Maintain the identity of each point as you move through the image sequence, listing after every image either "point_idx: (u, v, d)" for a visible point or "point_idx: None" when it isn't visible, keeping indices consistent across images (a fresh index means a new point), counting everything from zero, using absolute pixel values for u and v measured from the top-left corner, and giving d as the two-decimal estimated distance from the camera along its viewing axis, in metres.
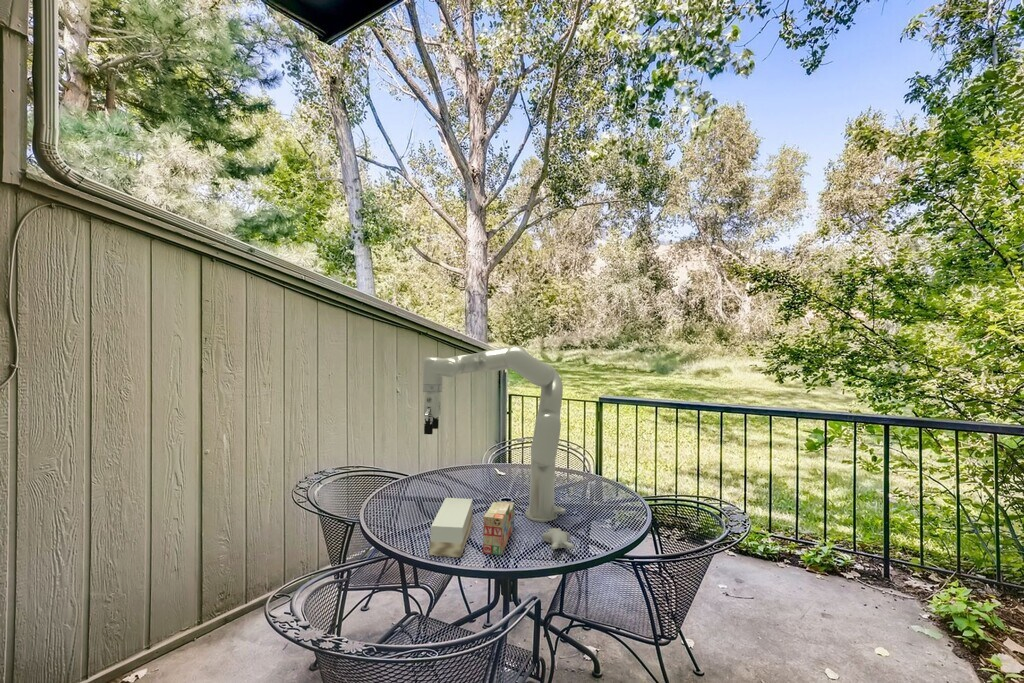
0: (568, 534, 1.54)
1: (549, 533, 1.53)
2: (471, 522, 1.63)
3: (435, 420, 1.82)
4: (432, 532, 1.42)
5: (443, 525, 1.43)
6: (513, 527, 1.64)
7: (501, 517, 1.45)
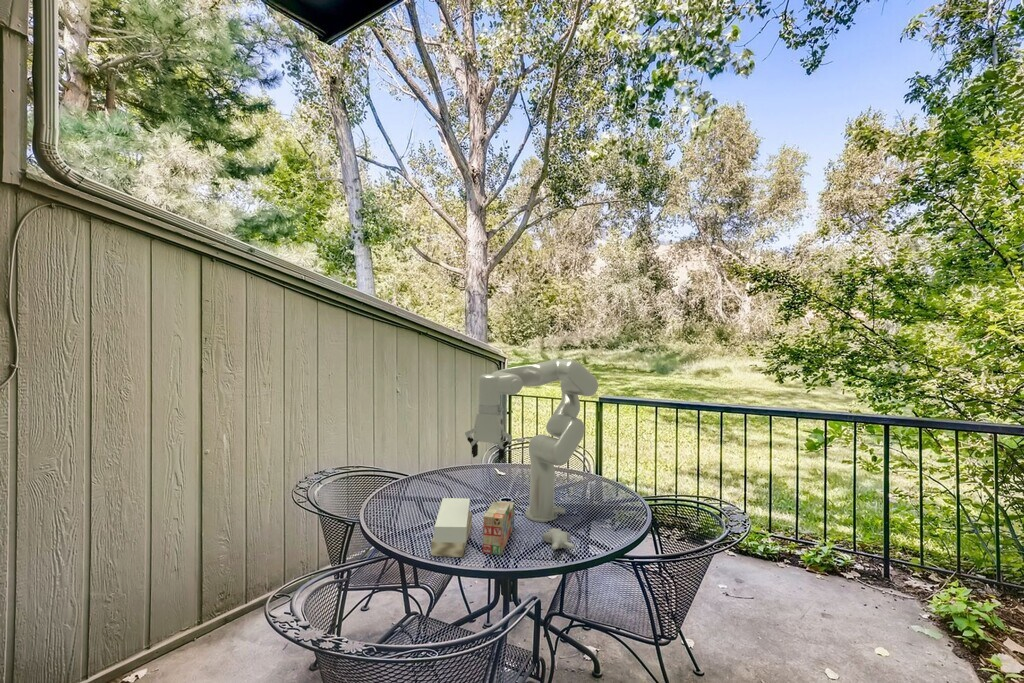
0: (568, 534, 1.54)
1: (549, 533, 1.53)
2: None
3: (476, 446, 1.60)
4: (435, 532, 1.42)
5: (446, 525, 1.43)
6: (513, 527, 1.64)
7: (501, 517, 1.45)
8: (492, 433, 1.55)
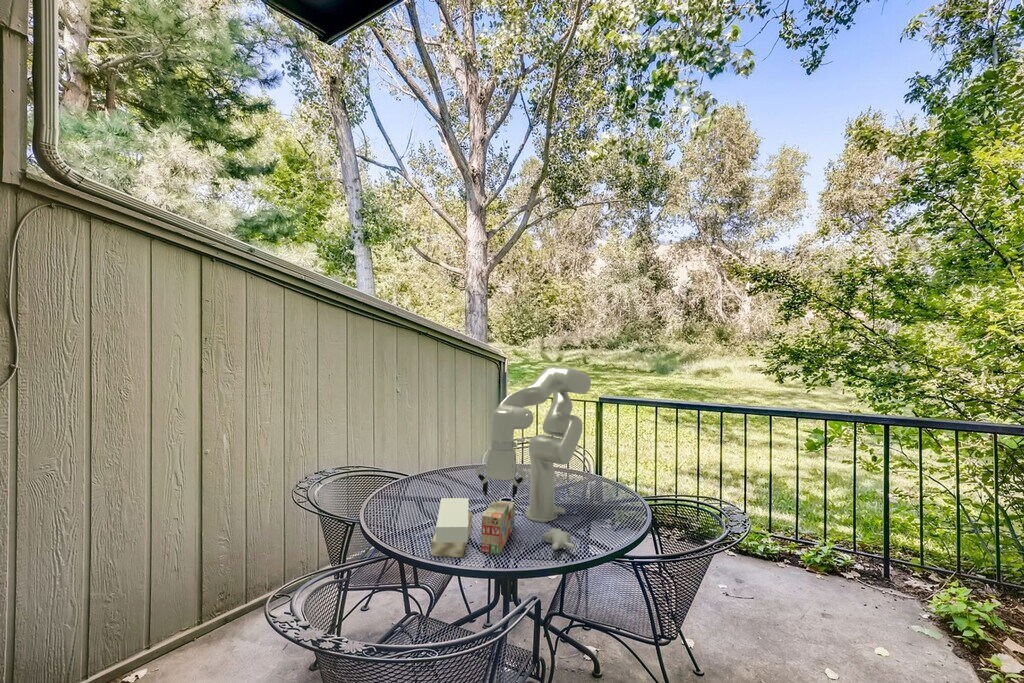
0: (569, 534, 1.54)
1: (550, 533, 1.53)
2: None
3: (487, 483, 1.55)
4: (437, 533, 1.41)
5: (448, 525, 1.43)
6: (513, 527, 1.64)
7: (499, 516, 1.45)
8: (507, 470, 1.51)
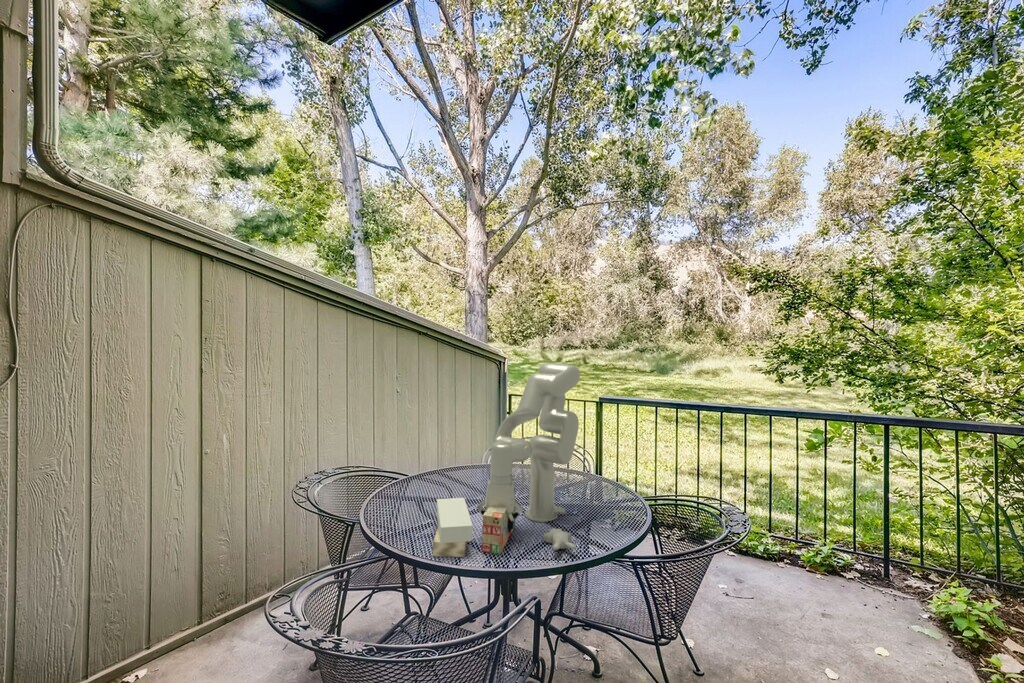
0: (569, 534, 1.54)
1: (550, 533, 1.53)
2: None
3: None
4: (442, 533, 1.41)
5: (452, 525, 1.43)
6: (514, 526, 1.64)
7: (500, 516, 1.45)
8: (506, 504, 1.52)
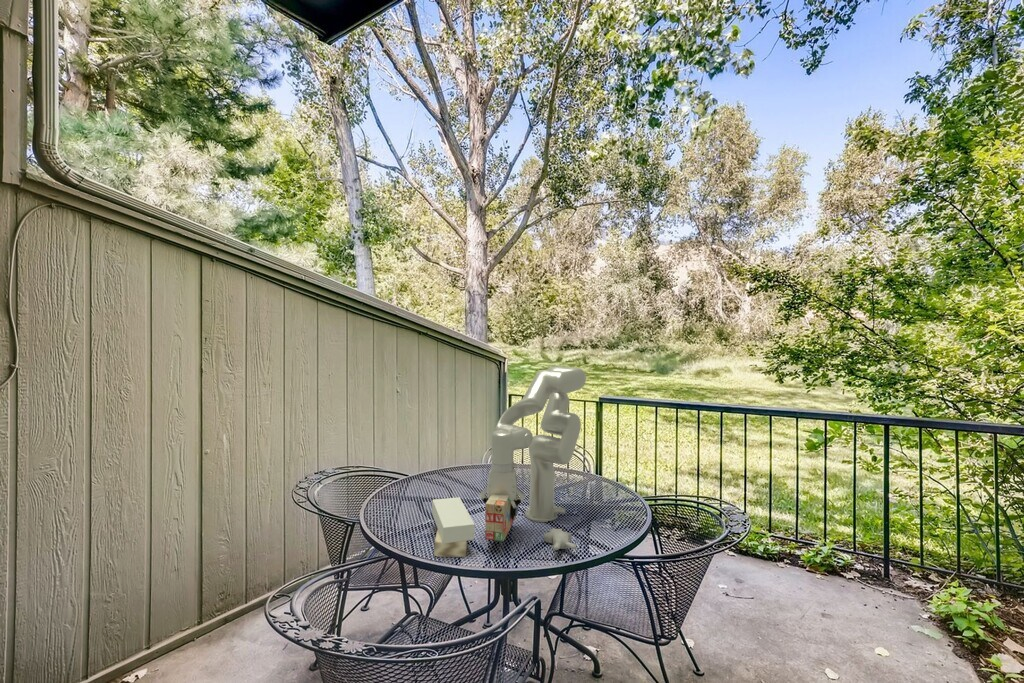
0: (569, 534, 1.54)
1: (550, 533, 1.53)
2: None
3: None
4: (444, 533, 1.41)
5: (454, 525, 1.43)
6: (517, 513, 1.65)
7: (502, 504, 1.46)
8: (508, 491, 1.52)
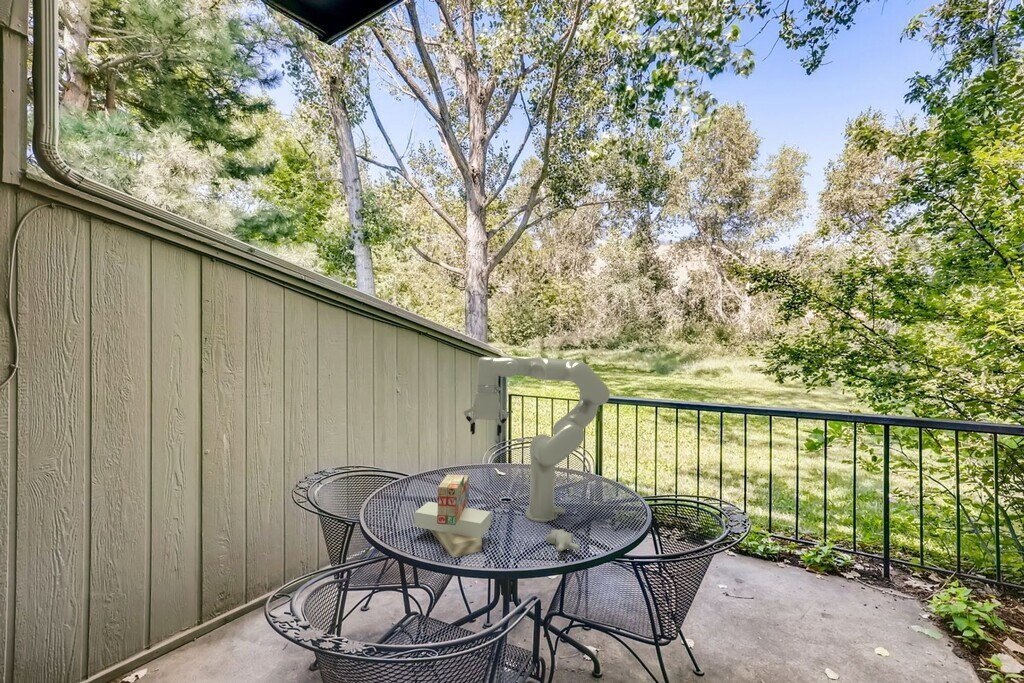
0: (572, 535, 1.54)
1: (553, 534, 1.52)
2: None
3: (474, 424, 1.71)
4: (480, 528, 1.46)
5: (481, 518, 1.49)
6: (467, 500, 1.63)
7: (455, 487, 1.44)
8: (491, 411, 1.68)
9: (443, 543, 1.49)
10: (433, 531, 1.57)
